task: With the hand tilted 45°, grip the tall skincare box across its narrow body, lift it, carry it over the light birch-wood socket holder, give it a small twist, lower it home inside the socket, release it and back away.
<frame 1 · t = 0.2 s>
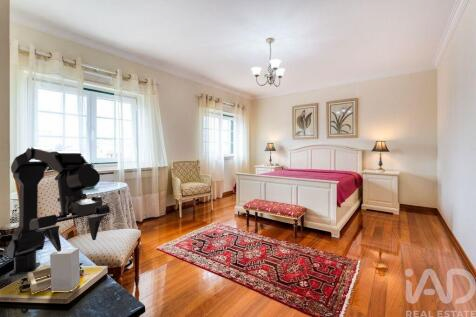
hand: (77, 245, 64), 15 cm above the table, tool pointing down, fingers open, 9 cm apart
skincare box: (65, 290, 68), on the table
socket holder: (50, 281, 72), on the table
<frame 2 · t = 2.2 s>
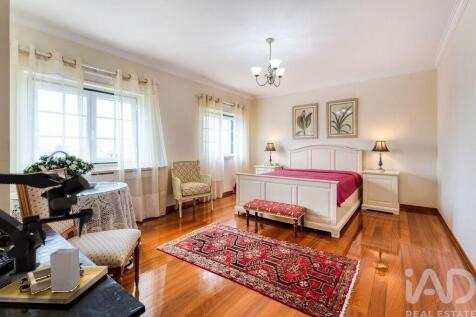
hand: (62, 240, 72), 13 cm above the table, tool tilted 45°, fingers open, 9 cm apart
nothing on the table moved.
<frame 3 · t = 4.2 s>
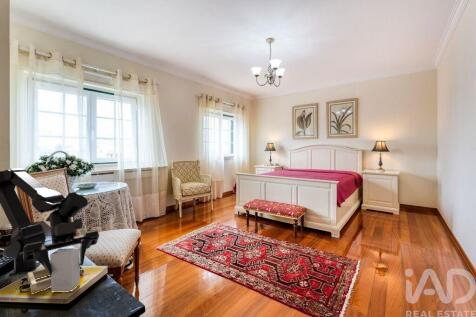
hand: (67, 269, 67), 7 cm above the table, tool tilted 45°, fingers closed on skincare box, 7 cm apart
skincare box: (65, 290, 68), on the table, touching gripper
when the fingers open (8 cm above the table, at t = 10.3 s): skincare box drops 1 cm, resting in socket holder.
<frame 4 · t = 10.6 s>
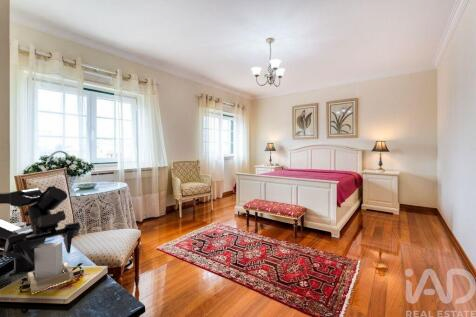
hand: (52, 258, 71), 8 cm above the table, tool tilted 45°, fingers open, 9 cm apart
skincare box: (49, 282, 72), resting in socket holder
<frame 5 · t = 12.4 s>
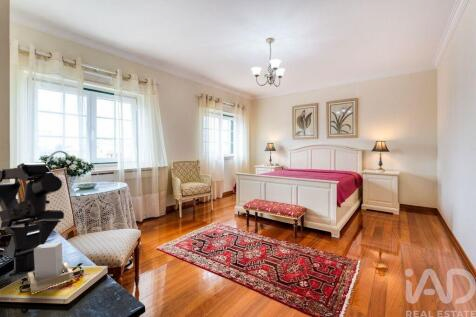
hand: (30, 246, 70), 12 cm above the table, tool tilted 20°, fingers open, 9 cm apart
nothing on the table moved.
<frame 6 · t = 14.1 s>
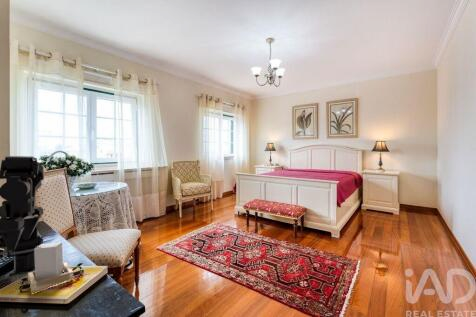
hand: (19, 244, 69), 13 cm above the table, tool pointing down, fingers open, 9 cm apart
nothing on the table moved.
at the end: skincare box 0.4 cm off-centre on the socket holder, point 0.0 cm above the socket holder's base; skincare box tilted 0°; the gripper is holding nothing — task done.
